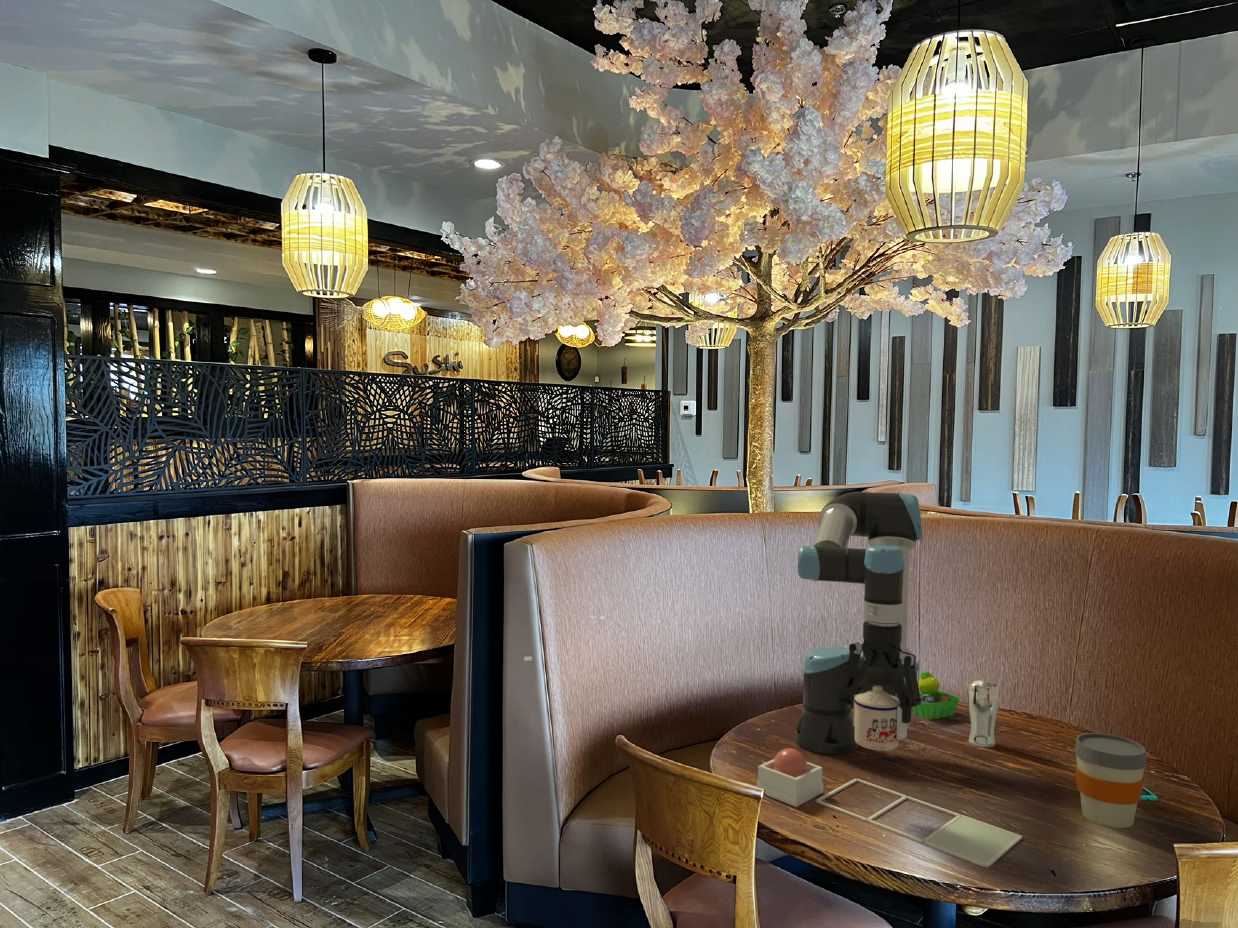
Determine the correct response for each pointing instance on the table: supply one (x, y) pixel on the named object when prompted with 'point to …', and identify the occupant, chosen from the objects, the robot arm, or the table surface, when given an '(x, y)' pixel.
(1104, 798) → the reusable coffee cup
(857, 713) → the teacup with lid
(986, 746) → the beer glass
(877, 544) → the robot arm
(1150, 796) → the handheld game console
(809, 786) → the grey square box
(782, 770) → the red ball
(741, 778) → the table surface
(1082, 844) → the table surface
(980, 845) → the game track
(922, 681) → the fruit basket
